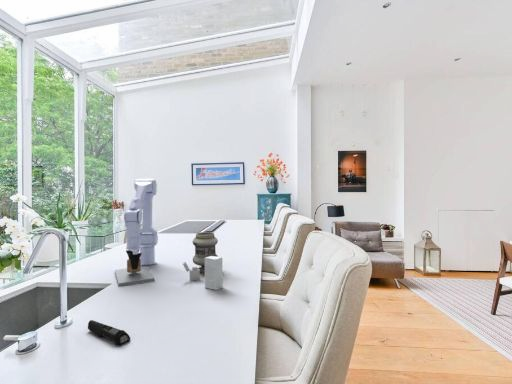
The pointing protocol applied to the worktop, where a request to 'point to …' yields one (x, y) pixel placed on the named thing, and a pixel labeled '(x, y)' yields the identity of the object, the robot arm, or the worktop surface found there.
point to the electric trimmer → (109, 332)
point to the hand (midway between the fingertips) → (133, 267)
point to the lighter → (193, 272)
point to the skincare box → (213, 272)
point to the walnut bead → (129, 268)
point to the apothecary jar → (204, 248)
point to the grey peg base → (133, 276)
